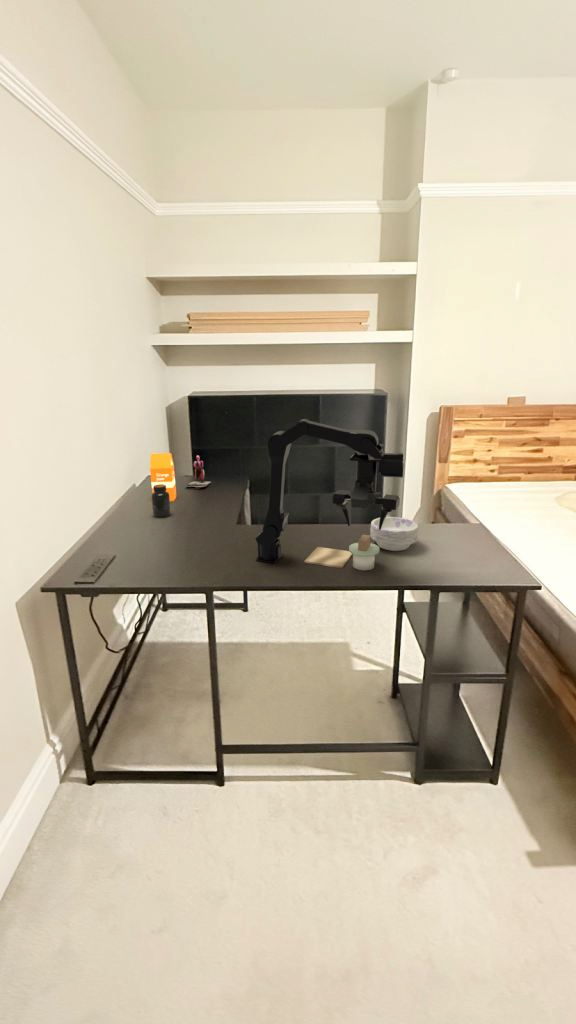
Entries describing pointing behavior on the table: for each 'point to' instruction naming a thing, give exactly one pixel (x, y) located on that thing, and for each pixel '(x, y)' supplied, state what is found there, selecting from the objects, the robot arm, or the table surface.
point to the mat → (329, 557)
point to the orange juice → (163, 472)
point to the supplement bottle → (161, 501)
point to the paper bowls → (394, 533)
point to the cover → (364, 547)
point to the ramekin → (363, 562)
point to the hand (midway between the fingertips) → (364, 527)
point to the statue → (198, 475)
